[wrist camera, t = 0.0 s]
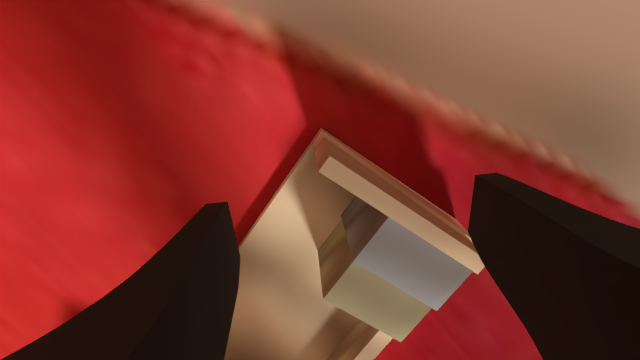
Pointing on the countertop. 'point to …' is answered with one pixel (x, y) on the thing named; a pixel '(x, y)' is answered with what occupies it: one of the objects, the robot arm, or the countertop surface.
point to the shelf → (296, 265)
